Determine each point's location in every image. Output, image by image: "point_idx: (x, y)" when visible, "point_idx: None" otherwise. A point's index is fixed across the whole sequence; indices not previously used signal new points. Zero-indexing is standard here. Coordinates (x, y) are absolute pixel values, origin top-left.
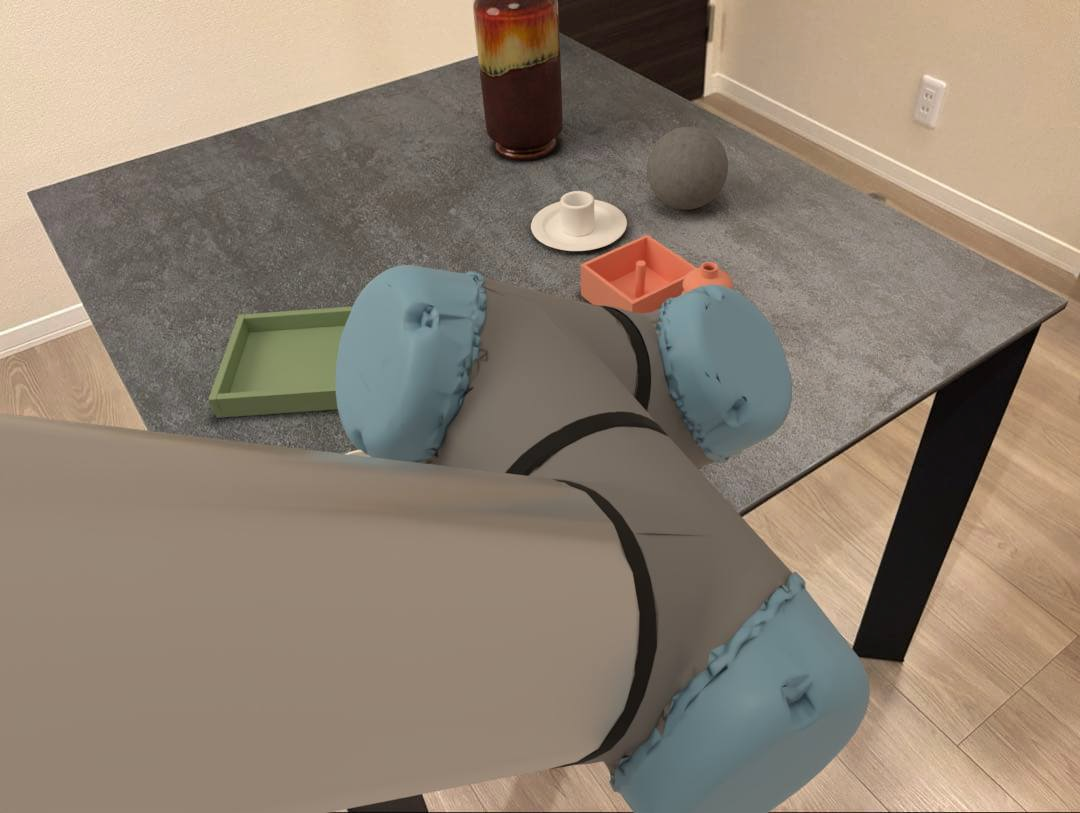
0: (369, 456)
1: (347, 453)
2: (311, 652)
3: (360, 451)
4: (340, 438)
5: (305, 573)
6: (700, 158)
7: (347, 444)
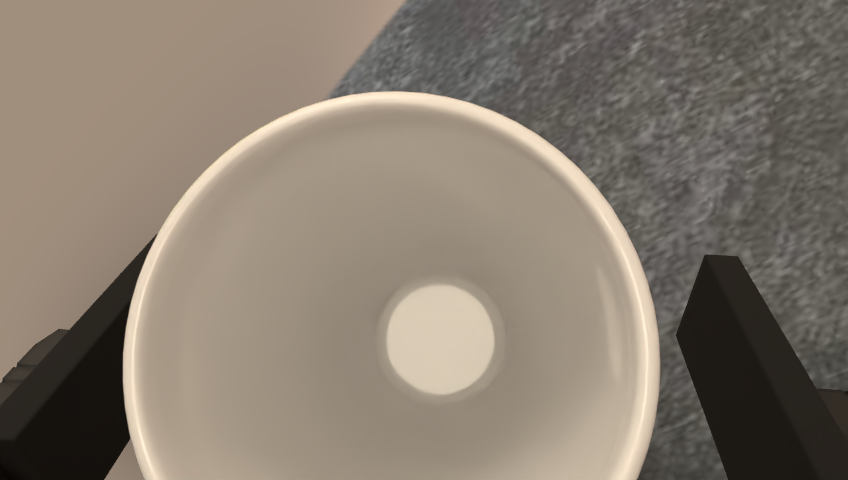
0: (613, 281)
1: (568, 172)
2: None
3: (607, 236)
4: (821, 6)
5: None
6: None
7: (810, 30)
